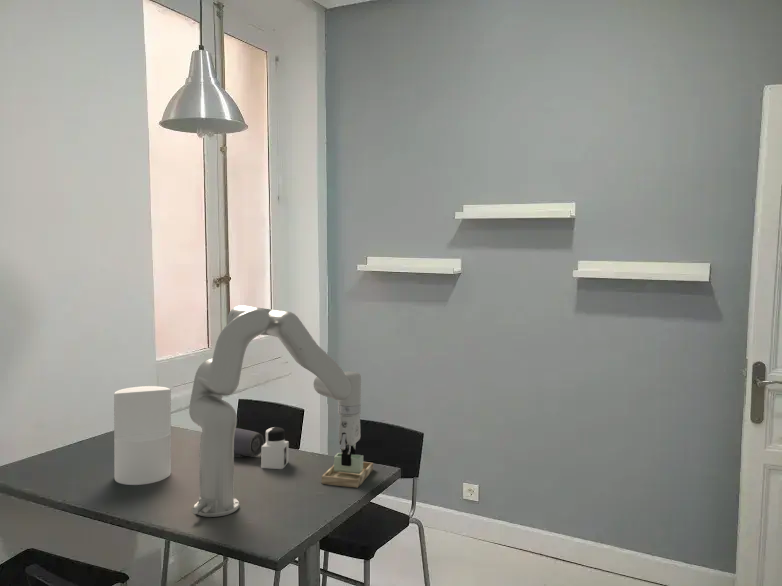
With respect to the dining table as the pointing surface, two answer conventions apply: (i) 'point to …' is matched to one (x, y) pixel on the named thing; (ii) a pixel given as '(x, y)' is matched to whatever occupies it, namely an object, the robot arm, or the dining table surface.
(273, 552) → the dining table surface
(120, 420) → the cylinder
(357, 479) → the wooden tray
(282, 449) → the container
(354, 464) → the small crate
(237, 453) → the bluetooth speaker
